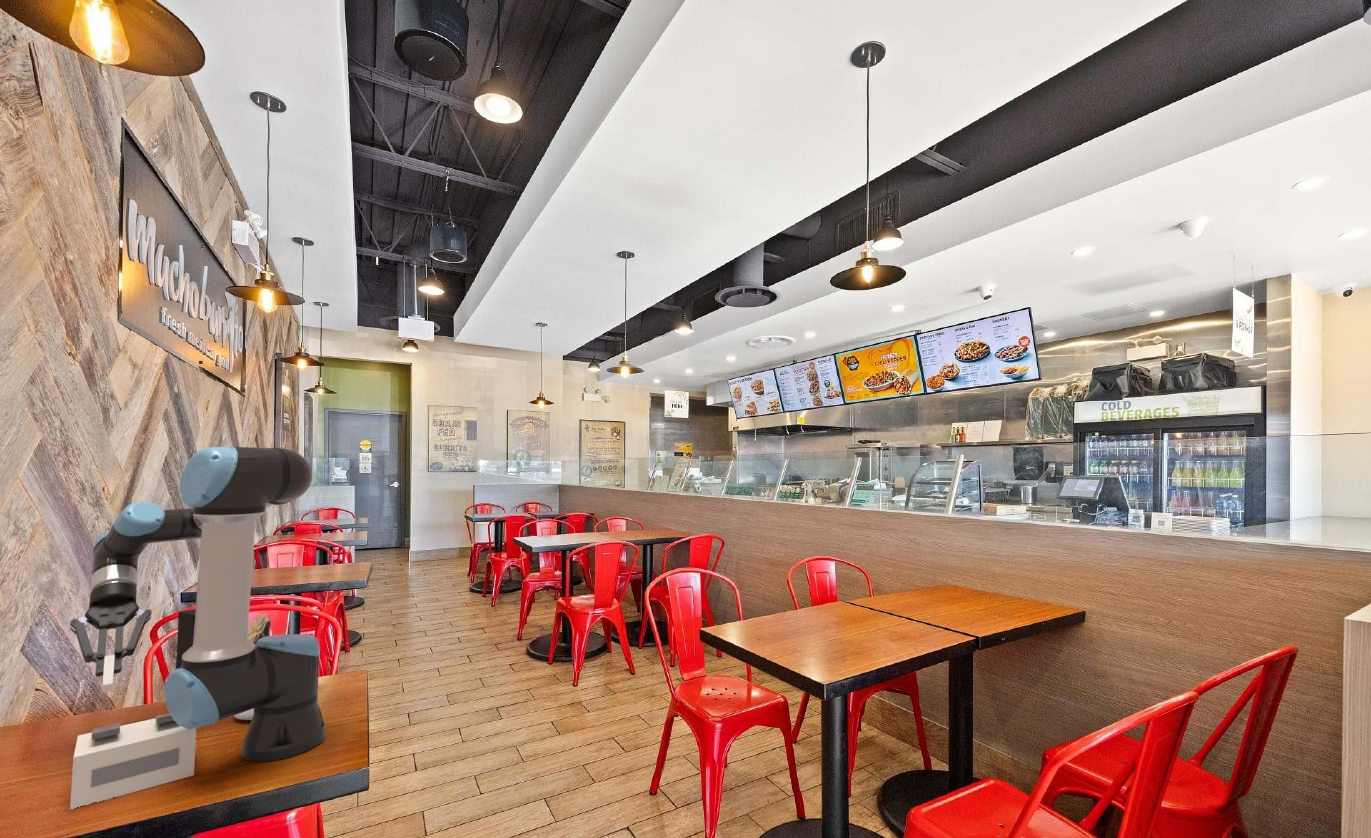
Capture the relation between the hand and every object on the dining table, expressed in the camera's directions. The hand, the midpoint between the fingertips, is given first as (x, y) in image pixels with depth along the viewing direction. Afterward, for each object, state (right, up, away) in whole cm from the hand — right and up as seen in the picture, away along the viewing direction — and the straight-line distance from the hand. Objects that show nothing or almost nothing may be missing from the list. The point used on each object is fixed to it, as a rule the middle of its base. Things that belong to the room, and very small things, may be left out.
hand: (107, 688), depth 119 cm
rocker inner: (+12, -6, 0) cm, 13 cm away
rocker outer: (+5, -6, -6) cm, 10 cm away
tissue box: (-5, -19, +29) cm, 35 cm away
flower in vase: (+12, -19, +26) cm, 34 cm away
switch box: (+9, -16, -3) cm, 19 cm away
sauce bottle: (+3, -20, +37) cm, 42 cm away
